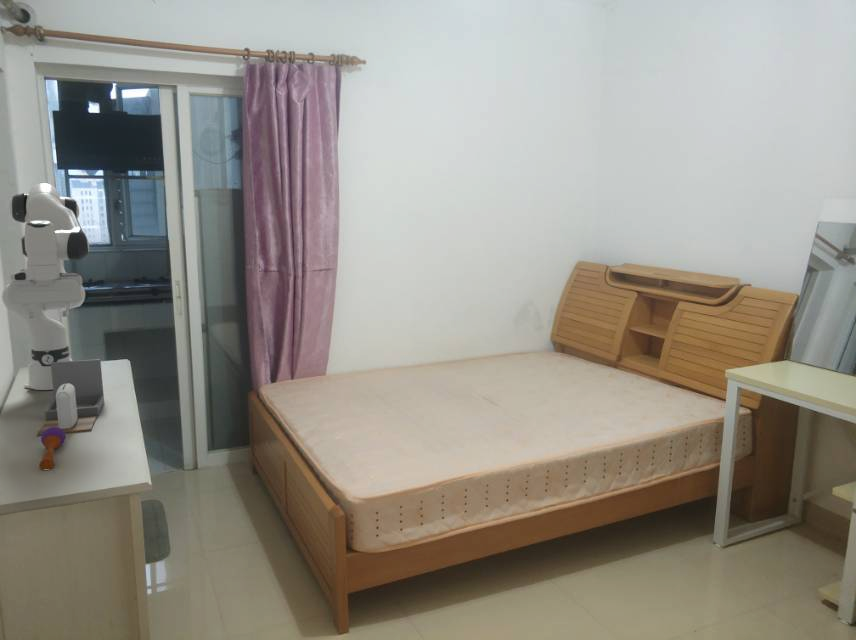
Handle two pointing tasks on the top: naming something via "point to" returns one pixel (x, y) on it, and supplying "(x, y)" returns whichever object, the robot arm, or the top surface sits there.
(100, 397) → the equipment case
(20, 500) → the top surface
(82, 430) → the walnut board
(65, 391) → the photo printer
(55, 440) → the maraca
